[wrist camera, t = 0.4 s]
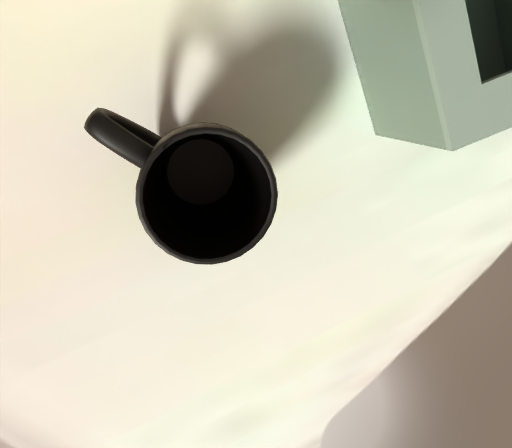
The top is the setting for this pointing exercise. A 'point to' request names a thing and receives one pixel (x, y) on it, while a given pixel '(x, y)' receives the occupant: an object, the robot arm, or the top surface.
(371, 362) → the top surface
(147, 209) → the mug
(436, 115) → the box
